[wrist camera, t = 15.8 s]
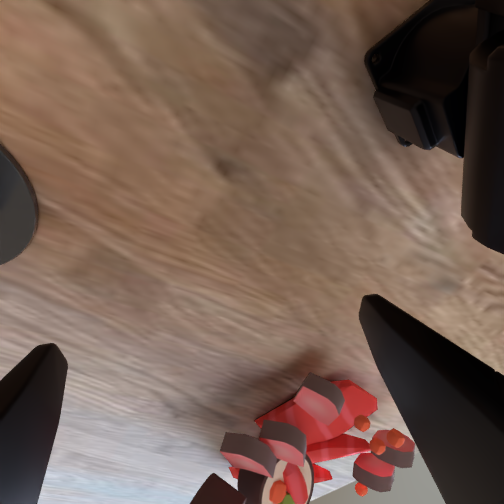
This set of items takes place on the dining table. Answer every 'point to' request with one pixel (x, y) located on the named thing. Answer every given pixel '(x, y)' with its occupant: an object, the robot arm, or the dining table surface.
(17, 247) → the coaster
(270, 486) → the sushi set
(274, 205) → the dining table surface
